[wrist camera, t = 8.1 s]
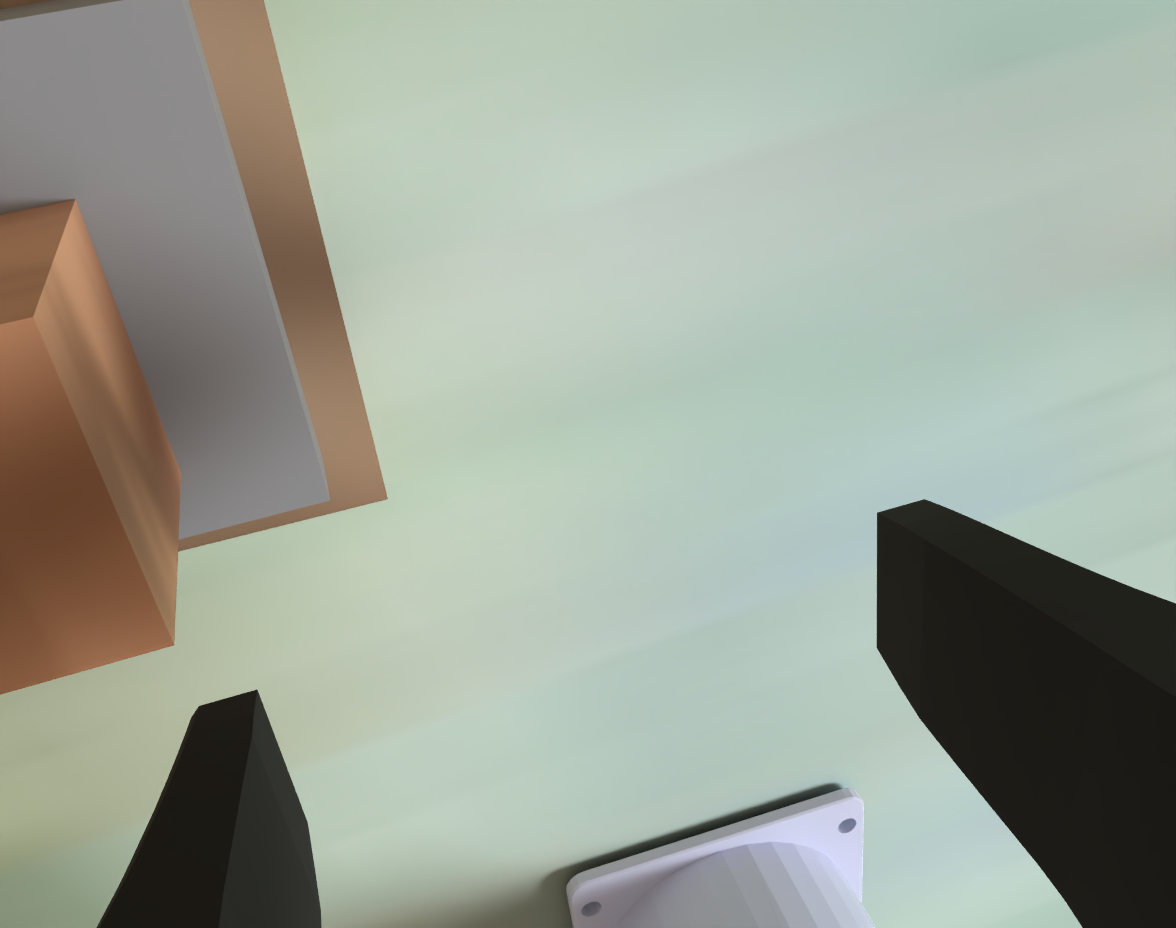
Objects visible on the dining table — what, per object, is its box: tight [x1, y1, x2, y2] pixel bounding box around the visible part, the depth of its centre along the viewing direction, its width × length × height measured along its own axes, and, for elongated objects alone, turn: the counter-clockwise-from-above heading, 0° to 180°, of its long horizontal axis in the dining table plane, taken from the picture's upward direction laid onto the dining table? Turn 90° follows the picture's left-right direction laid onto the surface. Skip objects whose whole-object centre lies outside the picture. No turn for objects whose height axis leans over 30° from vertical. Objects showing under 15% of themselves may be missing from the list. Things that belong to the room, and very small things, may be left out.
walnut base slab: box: [0, 0, 388, 551], centre depth 18 cm, size 10×10×2 cm
